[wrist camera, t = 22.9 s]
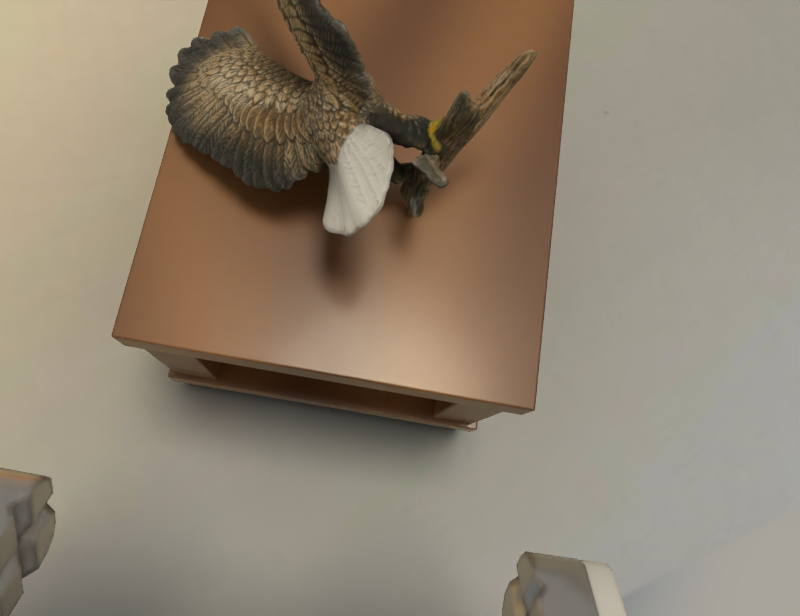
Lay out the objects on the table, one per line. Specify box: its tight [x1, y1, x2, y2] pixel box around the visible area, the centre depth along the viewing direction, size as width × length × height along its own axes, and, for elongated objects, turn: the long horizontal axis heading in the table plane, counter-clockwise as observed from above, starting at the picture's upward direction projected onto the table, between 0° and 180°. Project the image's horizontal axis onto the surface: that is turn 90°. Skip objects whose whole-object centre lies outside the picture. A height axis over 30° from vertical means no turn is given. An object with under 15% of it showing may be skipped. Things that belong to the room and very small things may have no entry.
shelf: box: [112, 0, 574, 432], centre depth 25 cm, size 12×16×10 cm
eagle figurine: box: [165, 0, 537, 237], centre depth 17 cm, size 8×7×9 cm
